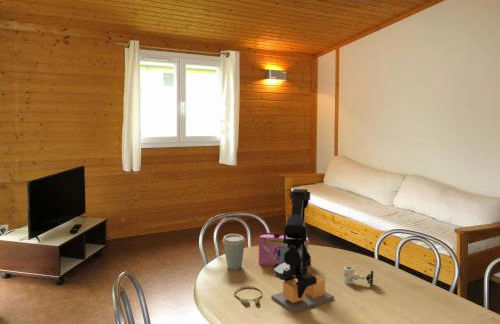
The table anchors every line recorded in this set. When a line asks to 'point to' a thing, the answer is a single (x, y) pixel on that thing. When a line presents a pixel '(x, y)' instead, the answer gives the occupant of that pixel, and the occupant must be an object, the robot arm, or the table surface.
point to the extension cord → (253, 299)
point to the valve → (356, 276)
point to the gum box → (272, 248)
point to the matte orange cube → (292, 291)
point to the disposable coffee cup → (234, 250)
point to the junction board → (306, 297)
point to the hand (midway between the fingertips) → (294, 294)
